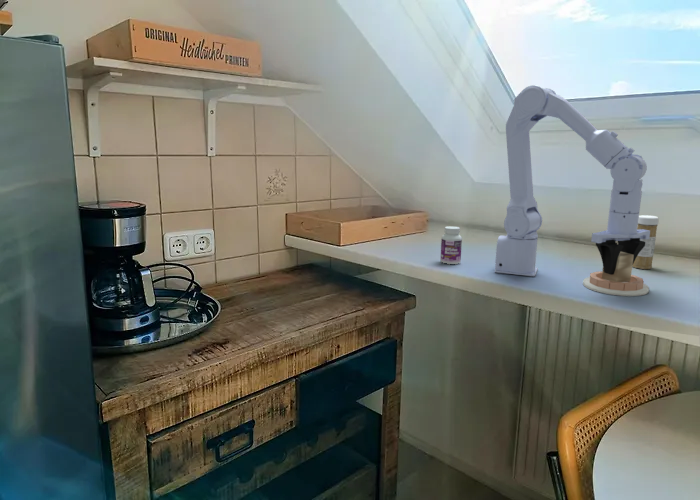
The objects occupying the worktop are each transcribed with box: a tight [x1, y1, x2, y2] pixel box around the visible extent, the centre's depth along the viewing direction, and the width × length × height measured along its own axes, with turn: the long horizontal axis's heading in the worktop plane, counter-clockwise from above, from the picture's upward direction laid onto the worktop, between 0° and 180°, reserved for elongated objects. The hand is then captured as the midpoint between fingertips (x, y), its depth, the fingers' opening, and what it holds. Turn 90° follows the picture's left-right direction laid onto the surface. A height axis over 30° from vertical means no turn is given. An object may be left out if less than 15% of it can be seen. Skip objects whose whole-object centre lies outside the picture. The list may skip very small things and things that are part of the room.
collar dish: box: [582, 270, 650, 297], centre depth 109 cm, size 13×13×2 cm
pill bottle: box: [440, 225, 463, 265], centre depth 131 cm, size 5×5×10 cm
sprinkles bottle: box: [632, 214, 660, 270], centre depth 125 cm, size 5×5×14 cm
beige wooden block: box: [602, 252, 634, 282], centre depth 109 cm, size 4×4×6 cm
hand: (616, 272), depth 109 cm, fingers closed on beige wooden block, 4 cm apart
